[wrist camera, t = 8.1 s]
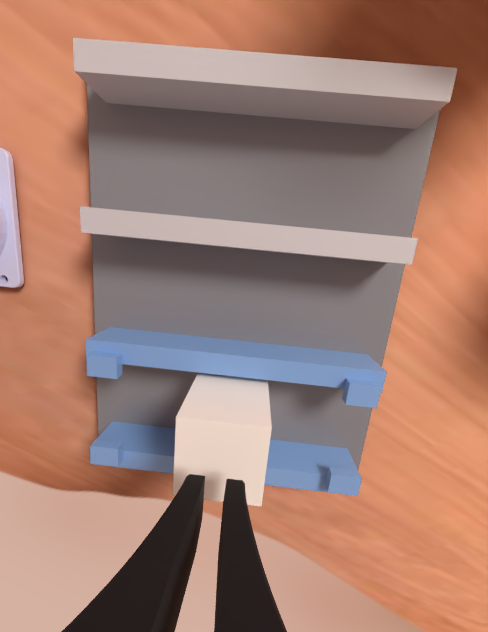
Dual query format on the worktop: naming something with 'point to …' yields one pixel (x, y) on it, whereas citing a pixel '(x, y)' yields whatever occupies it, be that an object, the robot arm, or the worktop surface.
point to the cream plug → (224, 435)
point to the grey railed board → (249, 240)
